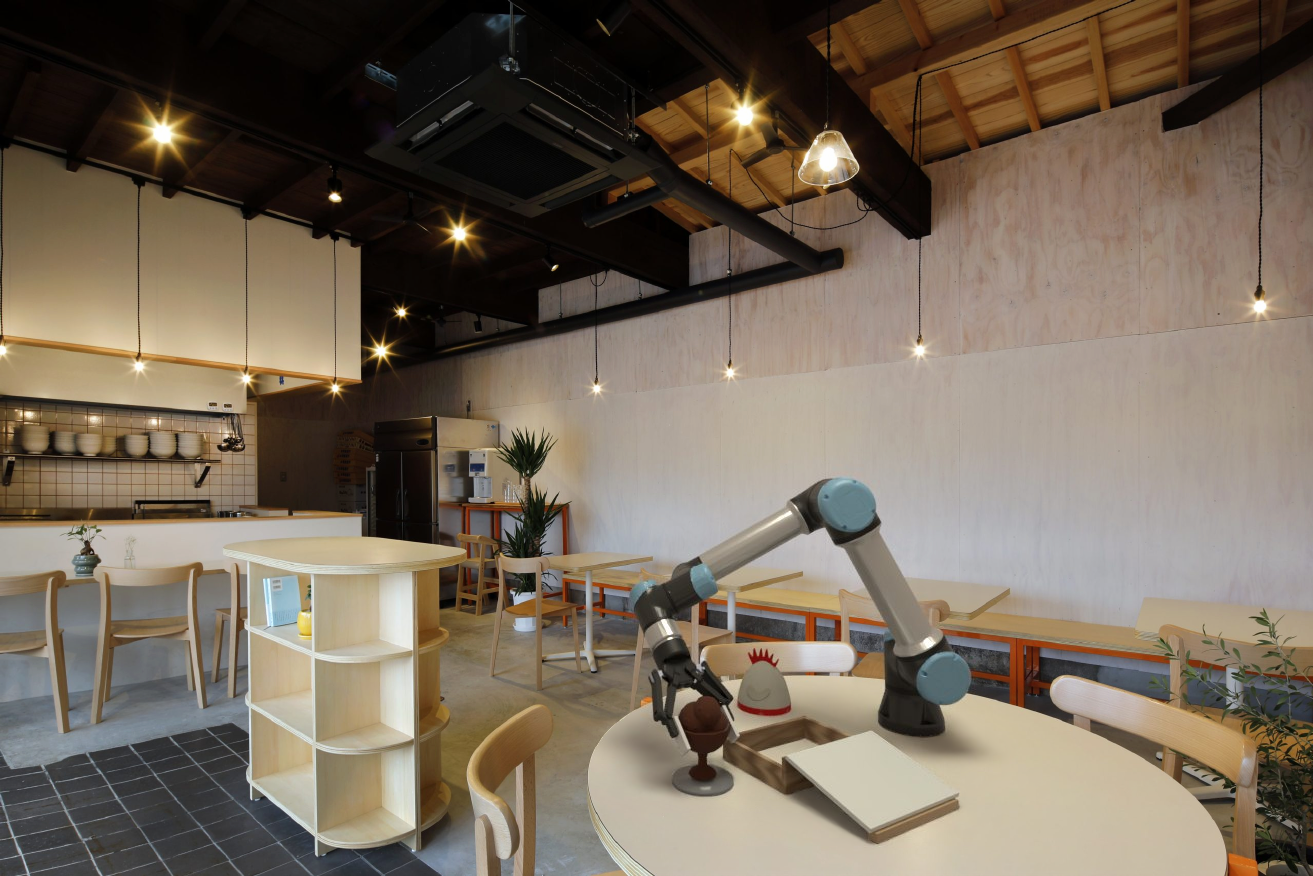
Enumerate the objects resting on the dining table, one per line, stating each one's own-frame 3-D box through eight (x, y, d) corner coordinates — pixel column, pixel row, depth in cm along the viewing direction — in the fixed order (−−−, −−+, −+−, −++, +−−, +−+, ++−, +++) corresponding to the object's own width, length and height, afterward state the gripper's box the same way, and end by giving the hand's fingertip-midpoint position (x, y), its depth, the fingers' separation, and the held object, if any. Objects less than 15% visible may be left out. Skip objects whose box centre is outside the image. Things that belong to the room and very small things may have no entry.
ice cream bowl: (735, 766, 129) (735, 689, 130) (722, 791, 118) (722, 707, 120) (684, 758, 132) (685, 684, 134) (668, 781, 122) (668, 700, 123)
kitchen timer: (745, 695, 178) (745, 640, 179) (795, 702, 172) (795, 645, 174) (731, 711, 165) (731, 651, 166) (784, 719, 160) (784, 657, 161)
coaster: (744, 778, 127) (744, 774, 127) (715, 802, 117) (715, 798, 117) (692, 763, 134) (692, 759, 134) (660, 785, 124) (660, 781, 124)
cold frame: (871, 766, 133) (871, 733, 133) (785, 795, 120) (785, 759, 121) (804, 736, 149) (804, 707, 149) (722, 758, 136) (722, 726, 137)
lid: (962, 807, 116) (960, 765, 116) (873, 845, 103) (872, 799, 104) (871, 766, 133) (870, 730, 133) (785, 795, 120) (785, 755, 121)
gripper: (704, 649, 146) (749, 742, 132) (613, 664, 134) (652, 769, 119) (718, 630, 142) (766, 724, 128) (626, 643, 130) (668, 749, 115)
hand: (711, 746), depth 124 cm, fingers closed on ice cream bowl, 11 cm apart
